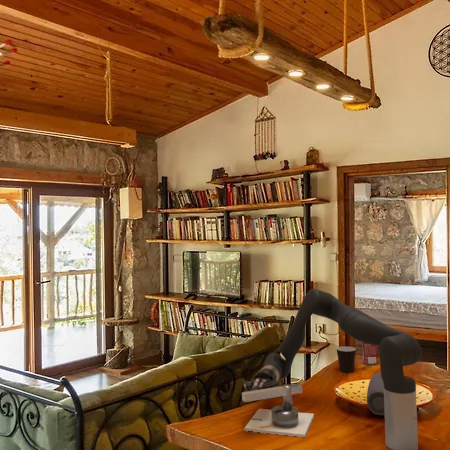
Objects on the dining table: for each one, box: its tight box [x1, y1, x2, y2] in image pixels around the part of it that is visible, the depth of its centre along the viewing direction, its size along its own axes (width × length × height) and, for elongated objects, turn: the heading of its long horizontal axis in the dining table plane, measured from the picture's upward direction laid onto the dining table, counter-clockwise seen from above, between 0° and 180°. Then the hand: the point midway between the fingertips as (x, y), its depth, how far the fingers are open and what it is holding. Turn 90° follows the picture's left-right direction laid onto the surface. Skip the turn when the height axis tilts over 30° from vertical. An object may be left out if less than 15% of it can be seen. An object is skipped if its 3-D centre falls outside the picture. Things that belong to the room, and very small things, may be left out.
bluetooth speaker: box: [366, 372, 385, 416], centre depth 185 cm, size 23×9×10 cm, turn 161°
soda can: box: [361, 342, 379, 366], centre depth 241 cm, size 7×7×12 cm
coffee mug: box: [336, 346, 357, 374], centre depth 229 cm, size 12×9×10 cm
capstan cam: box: [241, 383, 303, 427], centre depth 169 cm, size 21×9×12 cm, turn 110°
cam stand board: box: [244, 408, 315, 438], centre depth 172 cm, size 20×18×1 cm
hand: (253, 394), depth 168 cm, fingers closed
